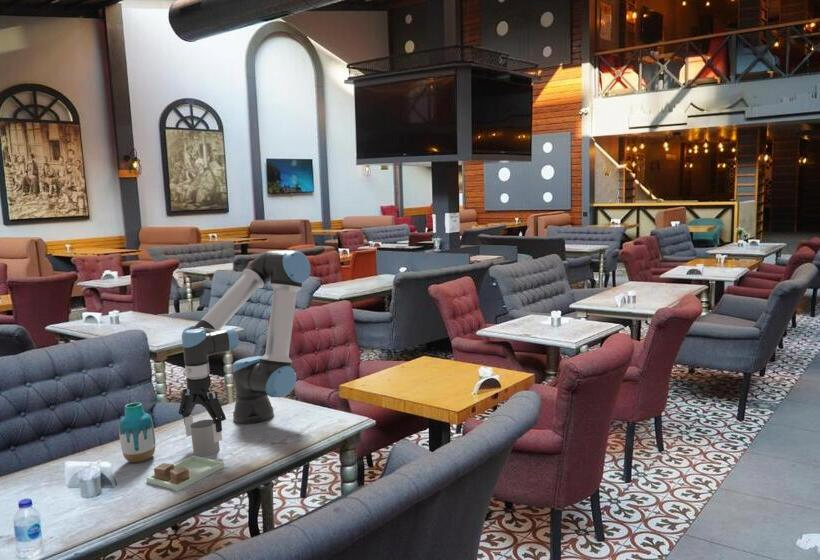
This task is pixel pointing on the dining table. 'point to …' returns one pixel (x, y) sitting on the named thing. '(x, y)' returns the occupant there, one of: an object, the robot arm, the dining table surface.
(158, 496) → the dining table surface
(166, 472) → the block
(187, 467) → the tray
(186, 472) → the block
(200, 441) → the cup
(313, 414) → the dining table surface
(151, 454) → the vase
